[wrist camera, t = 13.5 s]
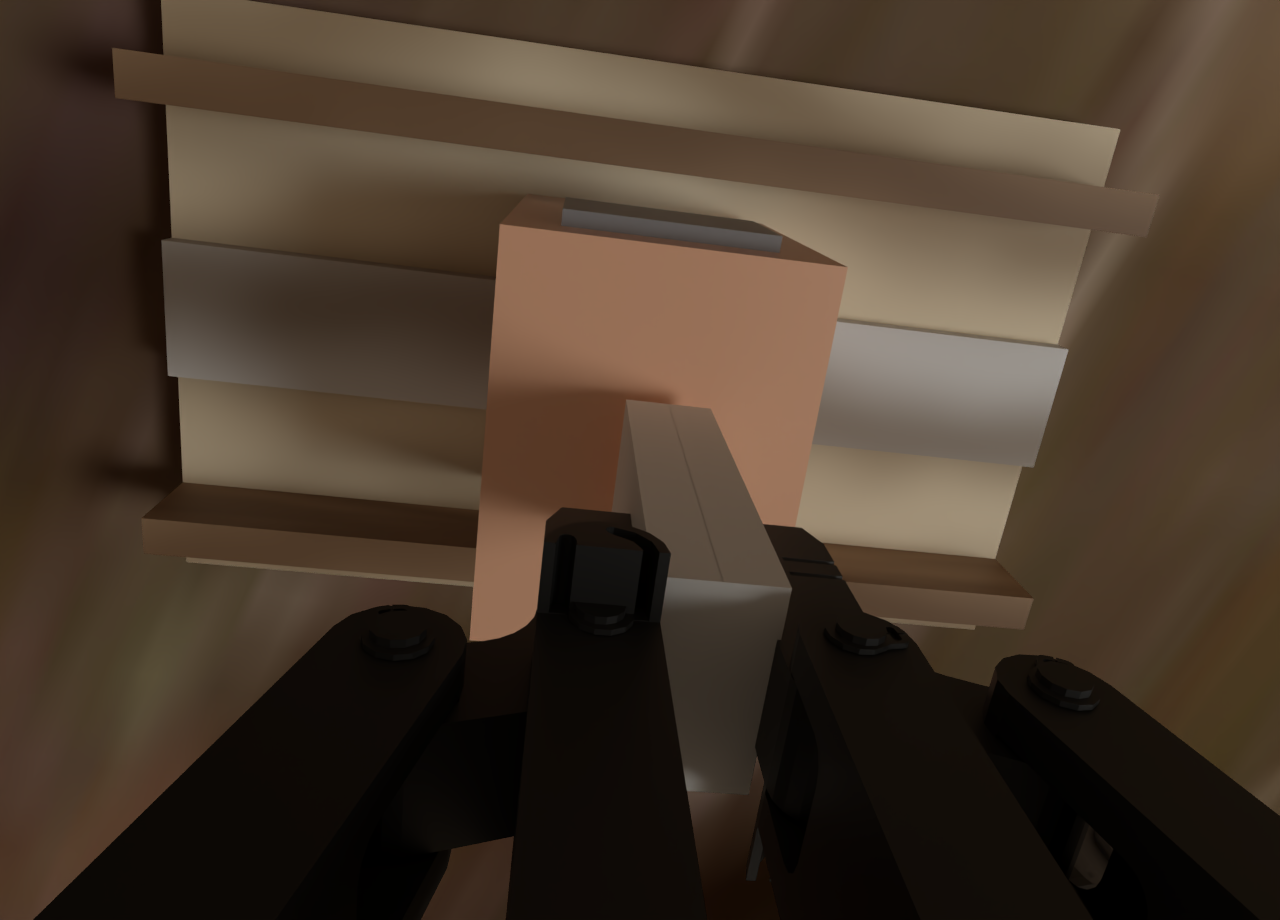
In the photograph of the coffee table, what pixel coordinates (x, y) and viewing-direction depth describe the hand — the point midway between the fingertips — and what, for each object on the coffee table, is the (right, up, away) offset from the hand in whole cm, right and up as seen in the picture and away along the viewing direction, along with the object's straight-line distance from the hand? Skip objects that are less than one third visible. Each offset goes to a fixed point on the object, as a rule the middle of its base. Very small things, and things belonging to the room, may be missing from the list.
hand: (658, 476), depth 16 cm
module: (-1, +3, +8) cm, 9 cm away
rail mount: (-1, +4, +10) cm, 11 cm away
